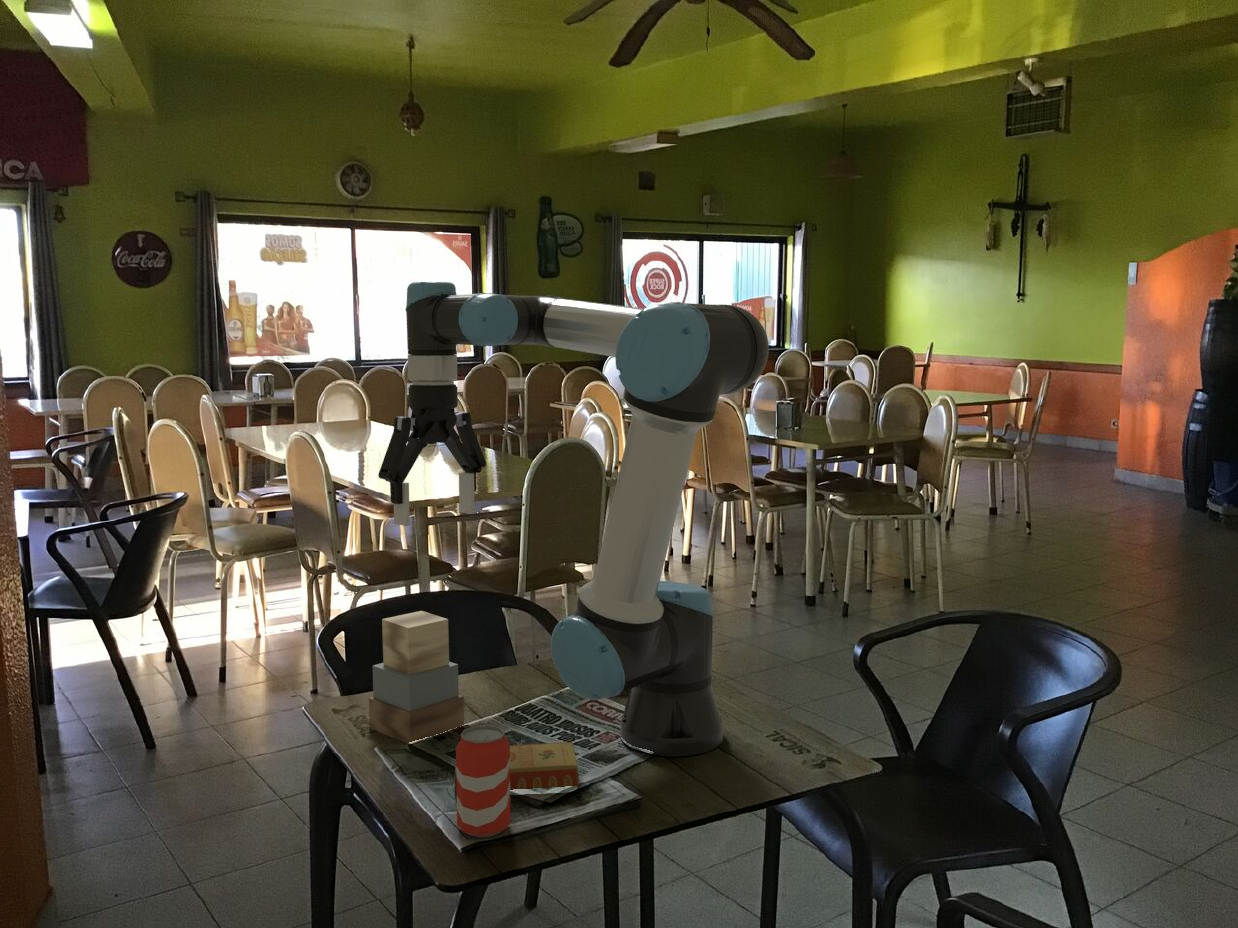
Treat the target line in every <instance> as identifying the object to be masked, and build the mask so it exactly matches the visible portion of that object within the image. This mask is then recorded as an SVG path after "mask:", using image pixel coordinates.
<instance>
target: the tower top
mask: <svg viewBox="0 0 1238 928" xmlns="http://www.w3.org/2000/svg"><path fill="white" fill-rule="evenodd" d="M372 693H373V694H372V695H373V696H372V697H373V698H375V699H378V700H381V701H383V702H386V703H388V704H391V705H393V706H396V707H399V708H401V709H404V710H406V711H409V712H411V711H415V710H418V709H421V708H424V707H427V706H430V705H433V704H437V703H440V702H443V701H446V700H449V699H452V698H455V697H459V695H460V694H459V664H458V663H455V662H452V661H449V665H446V666H442V667H438V668H434V669H431V670H427V671H423V672H419V673H415V674H411V675H408V674H406V673H403V672H401V671H398V670H396V669H393V668H391V667H388V666H386V665H384V664H383V662H381V663H377V664H374V665H372Z"/></svg>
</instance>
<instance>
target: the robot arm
mask: <svg viewBox="0 0 1238 928" xmlns="http://www.w3.org/2000/svg"><path fill="white" fill-rule="evenodd" d="M455 285H456V284H454V283H452V282H450V281H449V282H448V281H414V282H411V283H409V284H408V286H407V288H406V306H405V314H406V338H407V339H406V341H407V342H406V343H407V354H408V355H407V377H408V381H410V382H412V383H411V384H409V386H408V388H407V389H408V395H407V396H408V406H409V408H410V410H411V415H410V417H409V416H401V415H400V416H399V415H398V416H395V417H394V421H393V432H392V435H391V438H390V440H389V443H388V445H387V446H388V447H387V448H386V452H385V454H384V457H383V460H382V463H381V466H380V469H379V471H378V479H381V480H385V482H388V483H389V484H390V485H389V486H390V487H389V489H390V493H389V494H390V495H389V496H390V497H389V498H390V503H391V504H393V524H394V525H396V526H397V525H399V526H404V527H407V526H411V523H410V521H411V520H410V482H406V481H405V480H406V478H407V477H408V475H409V474H410V472H411V470H412V468H413V466H414V464H415V463H416V462H417V459H418V458H419V456H420V454H421V453H422V451H423V449H425V448H427V447H428V445H433V444H437V443H440V444H444V445H445V446H446V447H447V449H448V451H449V452H450V454H451V455H452V456H453V458H454V460H455V461H456V462H457V464H459V466H460V468H461V469H462V472H461V471H460V472H458V498H459V499H458V501H459V502H458V503H459V504H458V505H459V511H458V512H459V513H463V514H469V515H473V514H475V492H477V474H481V472H482V469H483V468H485V467H486V466H487V461H486V458H485V456H484V454H483V451H482V448H481V446H480V443H479V440H478V438H477V435H476V432H475V430H474V427H473V425H472V424H473V423H472V416H471V413H470V412H468V411H457V410H456V411H455V409H457V407H458V405H459V404H458V402H459V401H458V400H459V399H458V397H459V395H458V394H459V393H458V389H459V388H458V386H457V384H456V383H455V382H456V381H457V380H458V349H457V346H458V345H460V346H462V345H463V346H479V347H483V348H485V347H495V346H507V345H508V346H509V345H512V346H513V345H514V346H516V345H531V346H532V345H533V346H534V345H536V346H542V347H549V348H555V349H556V348H558V349H564V350H571V351H578V352H583V353H590V354H596V355H601V356H607V357H614V358H615V368H616V370H617V371H619V375H618V379H619V381H620V383H621V384H622V386H623V388H624V389H625V393H624V397H623V401H624V402H625V404H626V406H627V408H628V409H629V411H630V412H631V419H630V423H629V429H628V432H627V436H626V439H625V440H626V441H625V445H624V449H623V454H622V458H621V462H620V466H619V467H620V468H619V472H618V475H617V480H616V484H615V488H614V493H613V497H612V501H611V506H610V510H609V514H608V518H607V524H606V527H605V532H604V535H603V539H602V545H601V548H600V552H599V557H598V561H597V565H596V570H595V574H594V578H593V580H589V582H587V583H585V584H583V586H581V587H580V590H579V593H578V597H577V601H576V605H575V610H574V613H573V615H572V614H571V615H567V616H566V617H564V618H563V619H562V620H560V621H559V622H558V623H557V624H556V625H555V627H554V629H553V631H552V634H551V637H550V639H551V640H550V653H551V659H552V661H553V664H554V667H555V668H556V670H557V672H558V675H559V677H560V679H561V680H562V682H563V683H564V684H565V685H566V686H567V688H568V689H569V690H571V691H572V692H573V693H574V694H576V695H578V696H579V697H581V698H583V699H587V700H591V701H594V700H596V701H598V700H602V699H603V700H604V699H606V698H614V697H617V696H619V695H620V694H621V693H624V692H627V691H629V690H630V691H629V692H630V693H629V695H628V698H627V701H626V704H625V706H624V707H625V708H624V710H623V713H622V716H621V719H620V728H619V731H620V732H619V733H620V734H621V737H622V738H623V739H624V740H625V741H626V742H627V743H629V744H631V745H632V746H635V747H638V748H642V749H647V750H650V751H653V752H654V753H653V755H654V756H660V757H661V756H663V757H686V756H687V757H688V756H695V755H700V754H703V753H707V752H709V751H712V750H715V749H716V748H717V747H718V748H719V746H720V745H721V744H722V743H723V740H724V723H723V721H722V717H721V716H720V712H719V708H718V705H717V700H716V698H715V694H714V691H713V686H712V683H713V682H712V680H713V679H712V677H713V676H712V675H713V673H712V672H713V671H712V670H713V634H714V633H713V631H714V630H713V625H714V622H713V620H714V617H715V614H714V612H713V611H714V610H713V598H712V594H711V592H710V591H709V590H707V589H705V588H704V587H702V586H699V585H695V584H691V583H683V582H677V581H666V580H661V578H662V572H663V569H664V566H665V563H666V557H667V554H668V551H669V550H668V549H669V546H670V543H671V542H670V541H671V538H672V534H673V530H674V525H675V523H676V519H677V514H678V510H679V506H680V503H681V499H682V494H683V491H684V487H685V483H686V479H687V476H688V472H689V471H688V470H689V467H690V464H691V459H692V456H693V452H694V448H695V443H696V441H697V436H698V432H699V431H700V430H701V429H702V428H704V427H706V426H708V425H709V424H711V423H712V422H713V420H714V418H715V414H716V410H717V406H718V403H719V399H720V395H729V394H734V393H738V392H741V391H743V390H744V389H746V388H748V387H750V386H751V385H753V384H754V383H755V382H756V380H757V379H759V377H760V376H761V375H762V374H763V371H764V370H765V368H766V366H767V362H768V359H769V352H770V351H769V350H770V349H769V348H770V347H769V346H770V345H769V342H770V341H769V339H768V335H767V334H768V333H767V332H766V329H765V328H764V326H763V324H762V323H761V321H760V320H759V319H758V318H757V317H756V316H755V315H754V314H753V313H751V312H750V311H748V310H747V309H745V308H743V307H740V306H736V305H731V304H710V303H709V304H706V303H705V304H704V303H689V302H688V303H687V302H685V303H684V302H681V301H673V302H672V301H671V302H668V303H667V302H666V303H659V304H653V305H650V306H647V307H645V308H643V307H635V306H634V307H633V306H627V305H626V306H625V305H618V304H609V303H601V302H600V303H599V302H594V301H593V302H592V301H586V300H583V301H582V300H576V299H568V298H564V297H561V296H555V295H546V294H545V295H544V294H543V295H515V294H514V295H513V294H498V293H493V292H488V293H487V292H479V293H471V294H470V293H469V294H457V289H456V286H455ZM455 428H456V430H457V431H456V430H455Z"/></svg>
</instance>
